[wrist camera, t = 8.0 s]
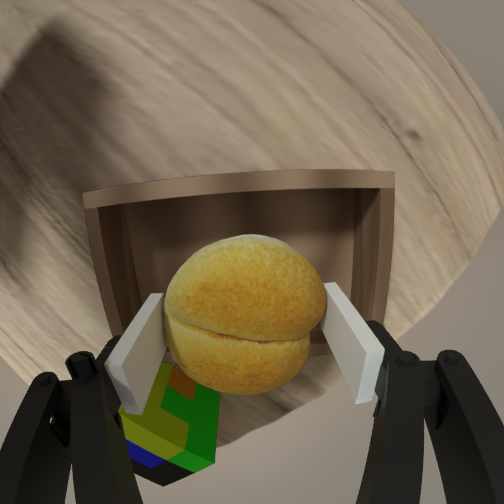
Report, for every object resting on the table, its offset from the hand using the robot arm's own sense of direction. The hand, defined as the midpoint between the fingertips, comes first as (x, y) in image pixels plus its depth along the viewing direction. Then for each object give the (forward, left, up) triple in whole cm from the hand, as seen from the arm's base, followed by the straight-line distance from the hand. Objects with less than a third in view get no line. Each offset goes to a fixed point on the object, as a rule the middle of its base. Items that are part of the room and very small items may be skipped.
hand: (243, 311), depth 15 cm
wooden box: (0, 0, -11) cm, 11 cm away
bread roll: (0, 0, -1) cm, 1 cm away
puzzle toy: (-11, -17, -11) cm, 23 cm away
